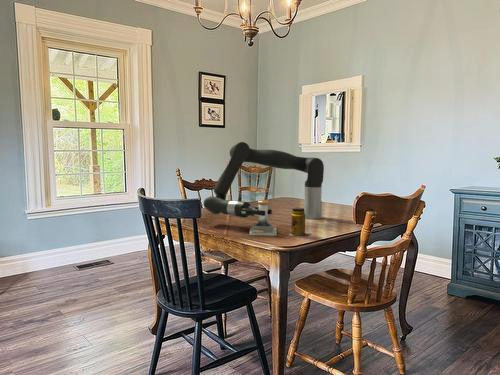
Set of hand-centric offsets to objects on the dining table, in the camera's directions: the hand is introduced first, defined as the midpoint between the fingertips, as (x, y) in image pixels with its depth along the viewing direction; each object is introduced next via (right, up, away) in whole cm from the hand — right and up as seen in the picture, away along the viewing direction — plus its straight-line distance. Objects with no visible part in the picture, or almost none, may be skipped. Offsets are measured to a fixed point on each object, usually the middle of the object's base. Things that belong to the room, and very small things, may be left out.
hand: (268, 212), depth 171 cm
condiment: (+14, -10, -2) cm, 17 cm away
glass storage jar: (-2, -7, +2) cm, 8 cm away
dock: (-2, -9, +3) cm, 10 cm away
